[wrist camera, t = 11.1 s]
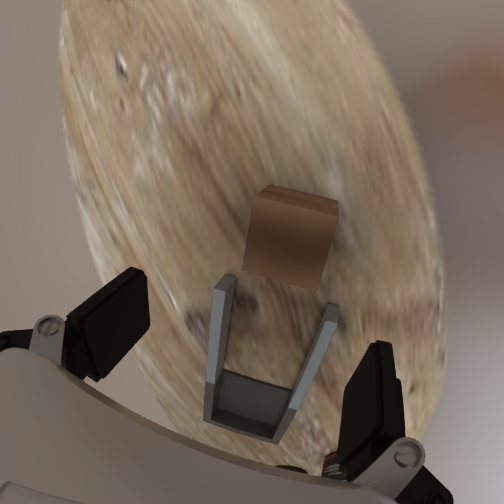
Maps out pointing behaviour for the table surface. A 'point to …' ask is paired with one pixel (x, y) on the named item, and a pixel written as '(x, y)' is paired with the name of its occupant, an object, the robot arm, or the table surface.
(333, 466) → the supplement bottle
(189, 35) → the table surface
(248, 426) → the grey u-shaped bracket
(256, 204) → the walnut block
